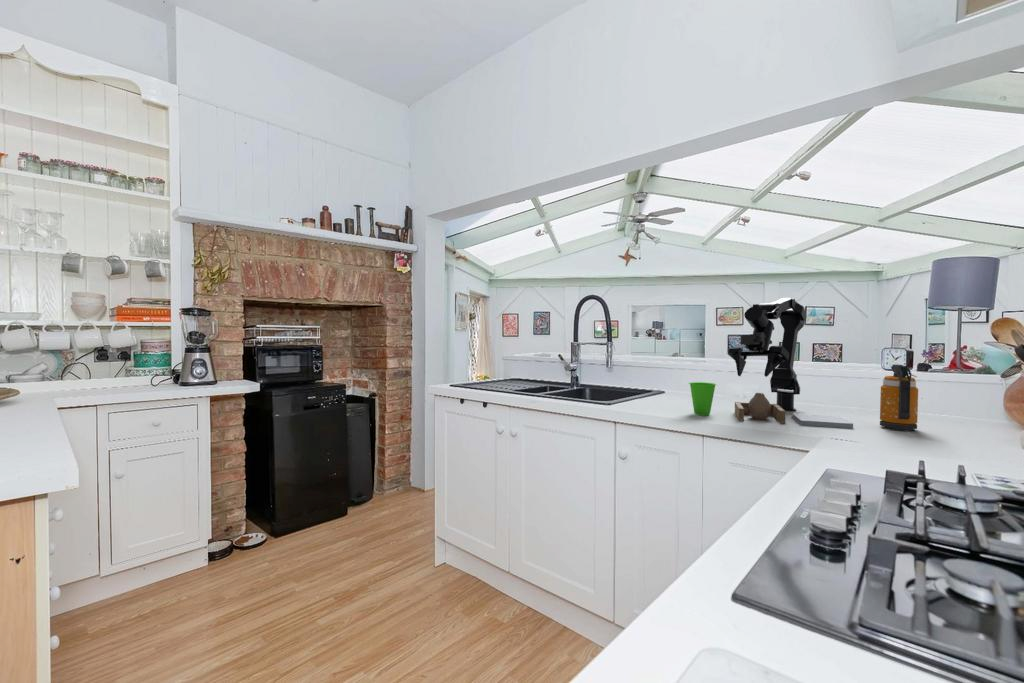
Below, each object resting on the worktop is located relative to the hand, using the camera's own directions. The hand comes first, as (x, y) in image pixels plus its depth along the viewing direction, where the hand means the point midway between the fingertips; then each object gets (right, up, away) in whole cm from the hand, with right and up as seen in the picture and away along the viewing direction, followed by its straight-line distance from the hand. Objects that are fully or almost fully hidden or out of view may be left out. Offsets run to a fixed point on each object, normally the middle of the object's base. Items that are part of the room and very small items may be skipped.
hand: (751, 376), depth 160 cm
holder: (+4, -15, +3) cm, 15 cm away
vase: (+3, -15, +2) cm, 15 cm away
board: (+20, -15, -5) cm, 26 cm away
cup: (-13, -15, +10) cm, 22 cm away
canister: (+38, -16, -14) cm, 43 cm away
